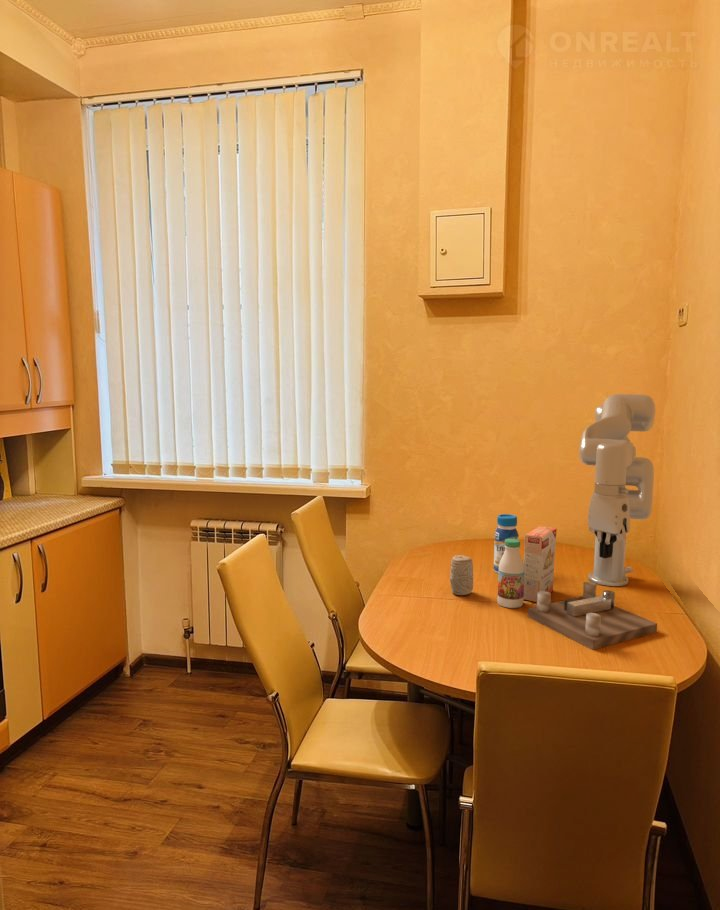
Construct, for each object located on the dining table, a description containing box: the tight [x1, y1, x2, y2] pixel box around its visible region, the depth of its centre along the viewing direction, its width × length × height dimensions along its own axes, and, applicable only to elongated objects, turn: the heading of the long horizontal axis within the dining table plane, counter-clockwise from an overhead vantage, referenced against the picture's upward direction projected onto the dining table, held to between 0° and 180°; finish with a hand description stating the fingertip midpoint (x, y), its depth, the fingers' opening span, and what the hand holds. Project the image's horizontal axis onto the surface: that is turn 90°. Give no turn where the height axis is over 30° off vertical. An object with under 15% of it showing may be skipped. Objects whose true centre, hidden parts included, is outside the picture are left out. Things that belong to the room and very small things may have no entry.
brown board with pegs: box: [527, 581, 658, 651], centre depth 174 cm, size 24×24×8 cm
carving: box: [449, 554, 474, 596], centre depth 198 cm, size 6×8×12 cm
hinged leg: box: [567, 590, 616, 616], centre depth 178 cm, size 16×3×4 cm, turn 114°
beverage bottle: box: [493, 513, 520, 574], centre depth 219 cm, size 8×8×20 cm
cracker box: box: [523, 525, 558, 603], centre depth 196 cm, size 14×6×21 cm, turn 146°
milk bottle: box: [496, 539, 524, 609], centre depth 189 cm, size 8×8×20 cm
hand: (605, 556), depth 167 cm, fingers closed
